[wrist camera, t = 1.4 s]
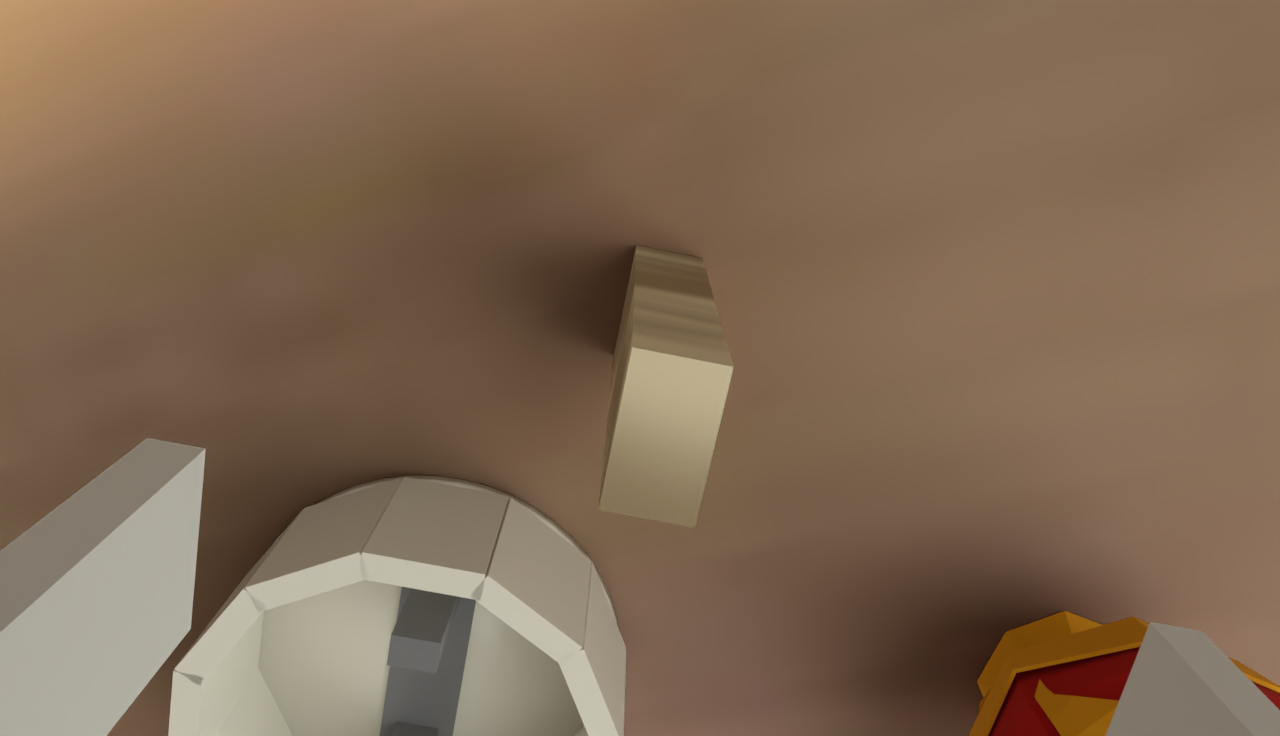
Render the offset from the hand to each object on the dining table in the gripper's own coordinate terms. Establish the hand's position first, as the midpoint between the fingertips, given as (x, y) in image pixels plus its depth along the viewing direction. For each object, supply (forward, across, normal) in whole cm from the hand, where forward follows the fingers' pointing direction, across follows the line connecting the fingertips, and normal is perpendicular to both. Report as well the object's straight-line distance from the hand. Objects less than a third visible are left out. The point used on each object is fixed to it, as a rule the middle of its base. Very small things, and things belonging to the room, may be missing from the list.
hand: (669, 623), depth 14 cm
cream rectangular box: (+18, 0, 0) cm, 18 cm away
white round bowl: (+18, -5, -13) cm, 22 cm away
